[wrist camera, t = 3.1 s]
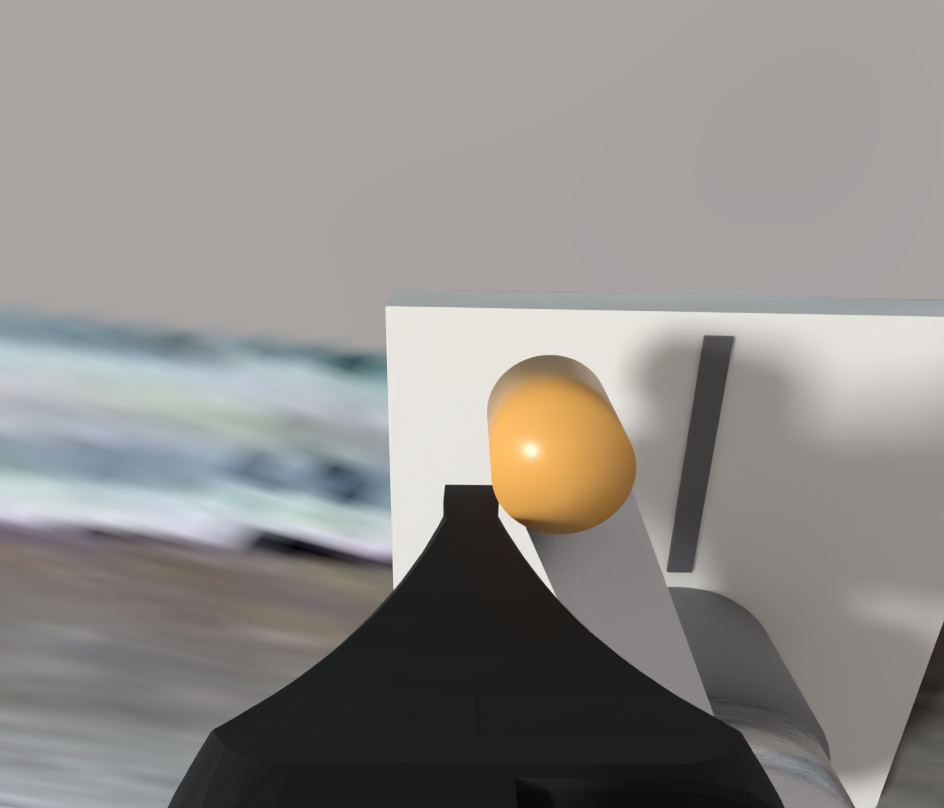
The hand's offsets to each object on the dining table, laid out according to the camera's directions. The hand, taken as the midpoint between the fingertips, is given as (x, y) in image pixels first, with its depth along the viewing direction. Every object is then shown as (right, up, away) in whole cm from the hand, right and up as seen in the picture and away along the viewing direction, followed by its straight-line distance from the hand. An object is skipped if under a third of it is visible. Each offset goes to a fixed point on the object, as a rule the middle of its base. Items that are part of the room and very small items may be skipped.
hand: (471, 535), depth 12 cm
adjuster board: (+5, -3, +7) cm, 9 cm away
